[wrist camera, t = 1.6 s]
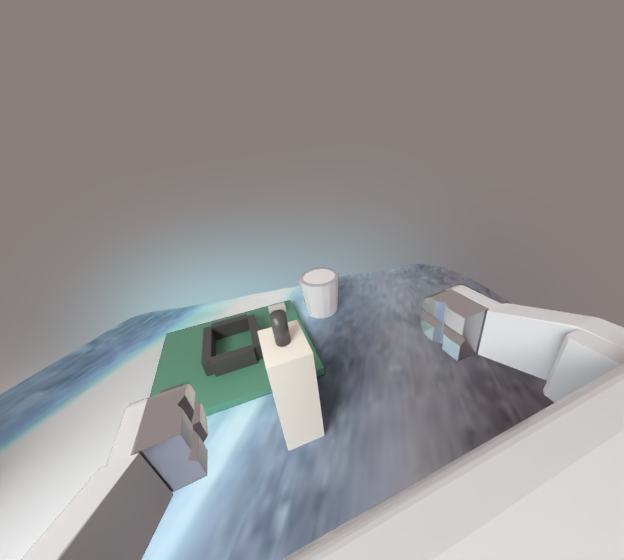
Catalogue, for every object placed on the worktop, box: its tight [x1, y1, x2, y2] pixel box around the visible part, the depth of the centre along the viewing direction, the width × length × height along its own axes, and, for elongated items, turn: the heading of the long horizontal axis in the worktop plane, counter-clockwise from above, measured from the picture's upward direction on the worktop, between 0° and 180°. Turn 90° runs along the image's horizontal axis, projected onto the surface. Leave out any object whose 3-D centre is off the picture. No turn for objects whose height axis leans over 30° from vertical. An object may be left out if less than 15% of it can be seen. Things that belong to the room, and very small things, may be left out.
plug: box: [257, 310, 325, 451], centre depth 25 cm, size 4×5×15 cm
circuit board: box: [150, 300, 325, 416], centre depth 38 cm, size 22×18×4 cm
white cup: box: [299, 268, 339, 318], centre depth 45 cm, size 7×7×7 cm
